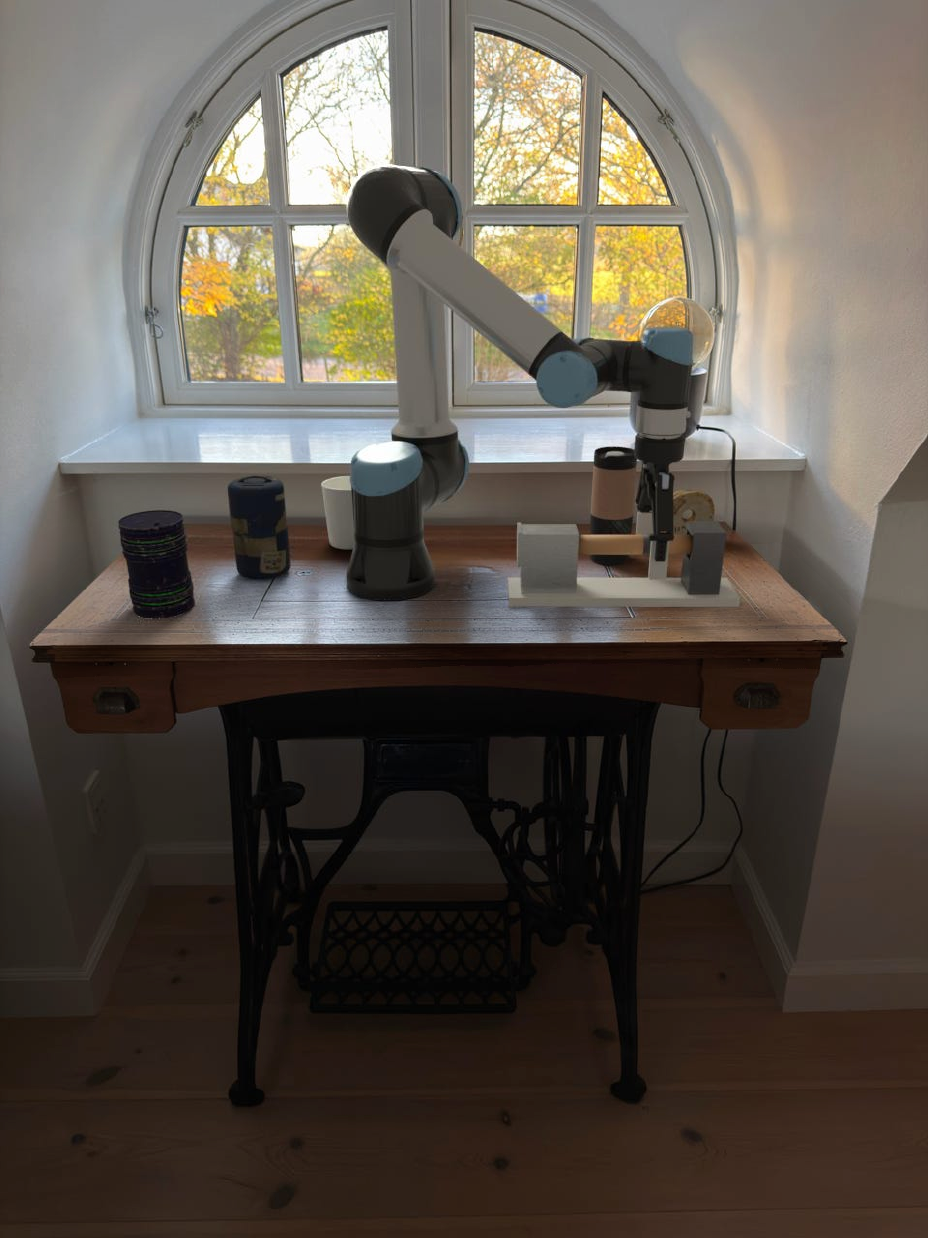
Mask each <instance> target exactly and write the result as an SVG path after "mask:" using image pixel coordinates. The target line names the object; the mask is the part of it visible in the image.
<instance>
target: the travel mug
mask: <svg viewBox="0 0 928 1238" xmlns="http://www.w3.org/2000/svg"><path fill="white" fill-rule="evenodd" d="M637 463H638V459H636V458H635V456H634V448H630V447H626V446H613V445H612V446H602V447H598V448H595V450H594V453H593V470H592V485H591V486H592V487H591V500H590V501H591V502H590V527H589V528H590V529H589V535H633V534H632V531H633V522H634V521H633V520H634V515H635V514H634V512H635V511H634V510H635V499H636V497H635V496H636V495H635V494H636V481H637V480H636V478H637ZM589 559H590V560H591V562H594V563H596V564H599V565H604V566H619V565H623V564H626V563H628V562H629V559H630V555H589Z"/></svg>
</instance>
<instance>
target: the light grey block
mask: <svg viewBox="0 0 928 1238" xmlns="http://www.w3.org/2000/svg"><path fill="white" fill-rule="evenodd" d="M516 525H517V527H516V564H517V568H519V578H520V589H521V593H534V594H576V590H577V578H578V569H579V568H578V565H579V564H578V562H579V555H578V547H579V535H580V533H579V529H578V527H577V524H576V523H573V524H571V523H569V524H568V523H567V524H565V523H564V524H563V523H559V524H558V523H554V524H553V523H551V524H550V523H549V524H548V523H547V524H545V523H544V524H543V523H541V524H539V523H538V524H537V523H534V524H532V523H529V524H528V523H525V524H523V523H522V522H517V523H516Z"/></svg>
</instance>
